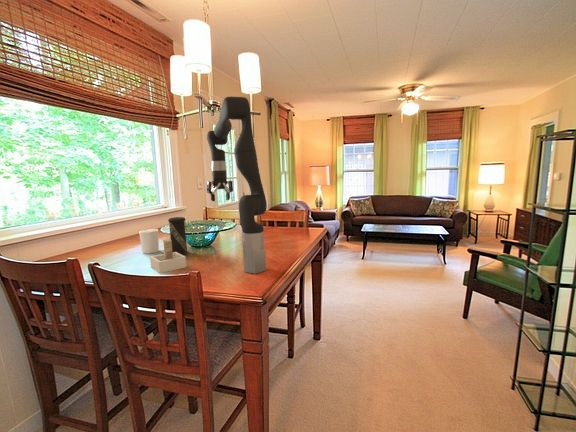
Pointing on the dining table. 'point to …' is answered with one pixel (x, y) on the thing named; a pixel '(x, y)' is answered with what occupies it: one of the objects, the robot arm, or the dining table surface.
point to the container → (178, 235)
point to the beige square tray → (167, 262)
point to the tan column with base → (168, 249)
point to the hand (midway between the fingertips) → (220, 200)
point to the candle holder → (149, 240)
